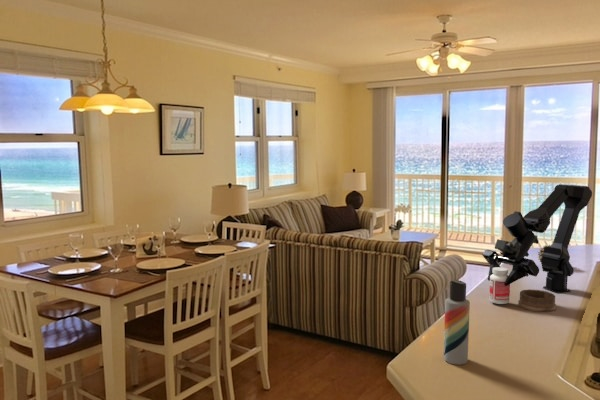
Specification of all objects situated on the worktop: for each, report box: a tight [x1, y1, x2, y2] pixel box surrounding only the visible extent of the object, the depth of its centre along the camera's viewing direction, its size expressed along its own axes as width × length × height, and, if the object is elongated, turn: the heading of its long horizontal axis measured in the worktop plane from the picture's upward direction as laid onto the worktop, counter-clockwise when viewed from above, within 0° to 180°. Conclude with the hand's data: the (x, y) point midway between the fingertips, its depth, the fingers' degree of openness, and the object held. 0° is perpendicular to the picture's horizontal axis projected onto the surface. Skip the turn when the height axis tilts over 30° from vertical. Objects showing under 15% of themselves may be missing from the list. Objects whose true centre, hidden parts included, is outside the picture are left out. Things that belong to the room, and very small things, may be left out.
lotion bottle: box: [443, 279, 471, 366], centre depth 121 cm, size 6×6×20 cm
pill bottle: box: [488, 266, 511, 305], centre depth 163 cm, size 6×6×11 cm
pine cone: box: [537, 244, 551, 263], centre depth 213 cm, size 22×10×10 cm, turn 154°
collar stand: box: [517, 289, 557, 313], centre depth 161 cm, size 11×11×4 cm
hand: (496, 282), depth 163 cm, fingers closed on pill bottle, 6 cm apart
